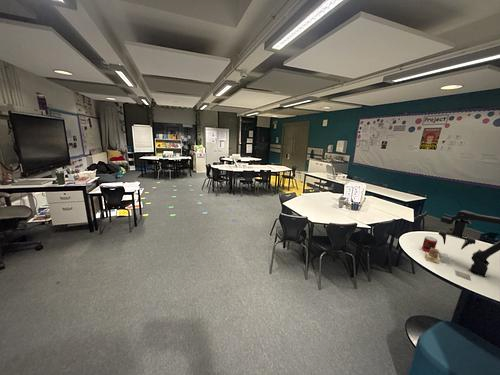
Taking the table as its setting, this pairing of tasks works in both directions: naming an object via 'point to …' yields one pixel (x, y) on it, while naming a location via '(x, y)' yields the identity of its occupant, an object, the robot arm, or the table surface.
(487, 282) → the table surface
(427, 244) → the canned food
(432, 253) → the walnut block
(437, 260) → the oak base
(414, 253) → the table surface
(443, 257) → the grey block
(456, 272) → the card
